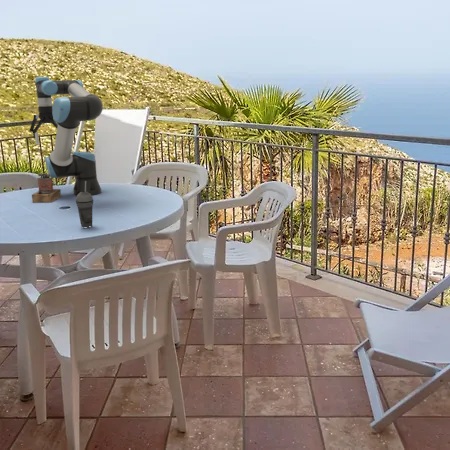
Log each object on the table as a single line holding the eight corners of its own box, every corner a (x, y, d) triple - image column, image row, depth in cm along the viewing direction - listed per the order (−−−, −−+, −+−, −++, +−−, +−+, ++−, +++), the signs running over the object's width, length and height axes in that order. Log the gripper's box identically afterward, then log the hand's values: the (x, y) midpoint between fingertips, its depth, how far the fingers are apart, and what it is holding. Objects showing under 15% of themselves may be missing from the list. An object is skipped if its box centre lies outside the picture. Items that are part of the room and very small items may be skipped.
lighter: (54, 191, 272) (52, 172, 269) (52, 192, 269) (50, 173, 266) (40, 191, 273) (38, 172, 270) (37, 192, 270) (35, 173, 267)
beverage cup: (79, 224, 223) (75, 179, 217) (96, 224, 223) (92, 179, 218) (76, 229, 216) (72, 183, 210) (94, 228, 216) (90, 182, 211)
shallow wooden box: (61, 196, 278) (60, 189, 277) (51, 202, 265) (50, 194, 264) (43, 196, 279) (42, 189, 278) (32, 202, 265) (31, 194, 264)
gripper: (69, 105, 285) (73, 143, 291) (26, 105, 286) (30, 143, 292) (65, 105, 278) (68, 144, 284) (20, 106, 279) (25, 145, 285)
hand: (49, 144), depth 288 cm, fingers open, 13 cm apart
